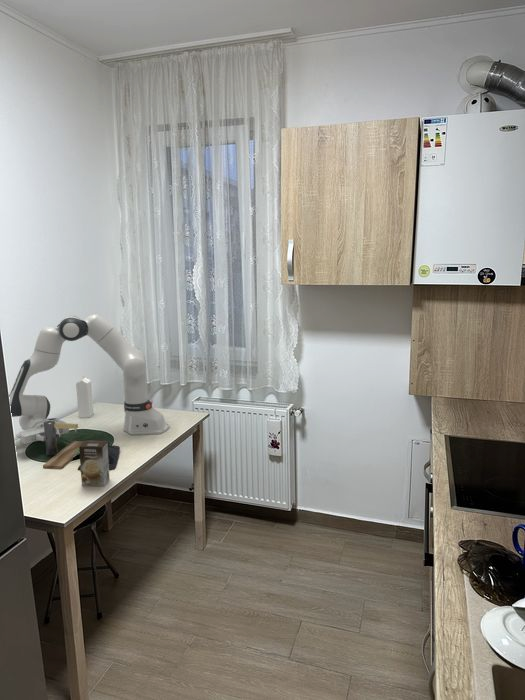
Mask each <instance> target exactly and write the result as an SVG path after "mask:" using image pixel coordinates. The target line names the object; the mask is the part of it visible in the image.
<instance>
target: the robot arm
mask: <svg viewBox="0 0 525 700" xmlns="http://www.w3.org/2000/svg"><path fill="white" fill-rule="evenodd" d="M86 336H88V337H89V338H90V339H91V340H92V341H94V342H95V344H97V345H98V346H99V347H100V348H101V349H102V350H103V351H104V352H106V354H107V355H108V356H109V357H110V358H111V359H112V361H114V363H115V364H116V365H117V366H118V367H119V368H120V369H121V370H122V372H123V390H124V391H123V392H124V393H123V394H124V402H123V409H124V424H123V428H122V429H123V431H124V432H127V433H128V434H129V435H131V436H132V435H133V436H135V435H139V436H140V435H160V434H163V433H165V432H166V431H168V430H169V428H170V423H169V422H167V421H166V420H165V417H164V414H162V413H161V412H160V411H158V410H157V409H156V408H154V407H153V400H151V401H150V400H149V397H148V396H149V395H148V379H147V359H146V356H145V354H144V353H143V352H142V351H141V350H140V349H136V348H135V347H134V346H133V345H132V344H131V343H130V341H128V339H127V338H126V337H125V336H124V335H123V334H122V333H121V332H120V331H119V330H118V329H117V328H116V327H115V326H113V325H112V324H111V323H110V322H109V321H108V320H106V319H105V318H104V317H102V316H101V315H99V314H96V313H95V314H94V313H93V314H91V315H89V316H87V317H86V318H84V319H81V318H80V317H78V316H76V315H69V316H67V317H64V318H62V320H60V323H59V324H57V326H56V327H55V326H54V327H53V326H45V327H44V328H41V330H40V331H39V333H38V337H37V340H36V342H35V346H34V349H33V353H32V354H31V356H30V357H29V358H28V359H26V360H24V362H23V363H22V365H21V366H20V369H19V371H18V374H17V376H16V379H15V380H14V383H13V386H12V388H11V391H10V392H9V395H8V396H9V397H10V406H11V413H12V416H11V417H12V418H13V417H16V418H17V417H19V420H18V423H19V426H20V428H21V430H22V431H19V433H18V434H16V438H18V439H20V440H19V441H20V442H21V443H22V444H24V445H25V444H29V443H33V442H34V443H35V442H37V441H41V442H45V441H46V437H45V433H44V422H46V421H55V423H66V422H65V421H63V420H60V419H59V418H58V417H54V418H53V417H52V418H48V417H49V415H50V412H51V403H50V401H49V399H48V397H47V396H45V395H41V394H40V395H38V394H37V395H36V394H24V393H25V389H26V387H27V385H28V382H29V380H30V378H31V377H32V376H34V375H35V374H36V375H37V374H38V373H42V372H47V371H49V370H51V369H54V368H55V367H56V365H58V363H59V360H60V357H61V350H62V348H63V347H62V346H63V344H64V342H66V341H67V342H74V341H78V340H80V339H82V338H84V337H86ZM69 432H70V429H69V428H56V436H57V438H60V437H61V436H62V435H64V434H68V433H69Z"/></svg>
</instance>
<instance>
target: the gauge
mask: <svg viewBox="0 0 525 700" xmlns="http://www.w3.org/2000/svg"><path fill="white" fill-rule="evenodd" d="M56 428H69V430H70V429H72V430H73V429H74V434H77V429H78V428H79V424H78V423H68V422H65V423H55V421H46V422H44V433H45V437H46V441H44V442H45V452H46V455H47V456H55V455H56V454H58V453H59V450H58V449H59V448H58V437H57V436H56Z"/></svg>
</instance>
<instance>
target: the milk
mask: <svg viewBox="0 0 525 700" xmlns="http://www.w3.org/2000/svg"><path fill="white" fill-rule="evenodd" d="M75 388H76V398H77V399H76V400H77V411H78V413H77V414H78V418H79V419H81V418H84V419H85V418H87V419H89V418H91V417H92V416H93V415H94V406H93V405H94V403H93V402H94V401H93V390H92V380H91V379H89V378H87V377H86V374H84V375H83V376H81V378H80V380H78V382H76V383H75Z"/></svg>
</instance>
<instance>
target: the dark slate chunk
mask: <svg viewBox="0 0 525 700" xmlns="http://www.w3.org/2000/svg"><path fill="white" fill-rule="evenodd" d="M120 449H121V448H120V446H119V445H113V444H108V460H109V471H110V470H111V471H112V469H113V470H114V469H116V466H117V464H118V463H117V462H118V458H119V455H120ZM77 471H80V473H81V466H80V465H79V466H78V468H77Z"/></svg>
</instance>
